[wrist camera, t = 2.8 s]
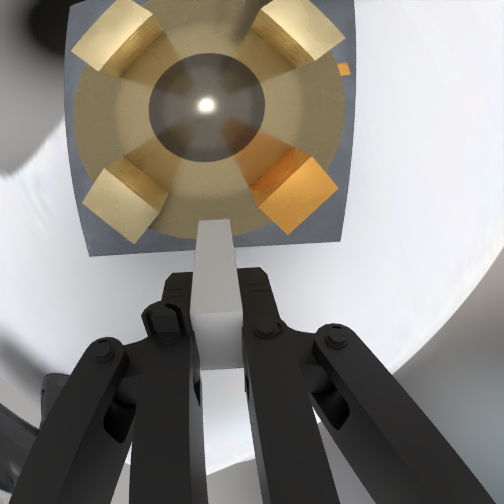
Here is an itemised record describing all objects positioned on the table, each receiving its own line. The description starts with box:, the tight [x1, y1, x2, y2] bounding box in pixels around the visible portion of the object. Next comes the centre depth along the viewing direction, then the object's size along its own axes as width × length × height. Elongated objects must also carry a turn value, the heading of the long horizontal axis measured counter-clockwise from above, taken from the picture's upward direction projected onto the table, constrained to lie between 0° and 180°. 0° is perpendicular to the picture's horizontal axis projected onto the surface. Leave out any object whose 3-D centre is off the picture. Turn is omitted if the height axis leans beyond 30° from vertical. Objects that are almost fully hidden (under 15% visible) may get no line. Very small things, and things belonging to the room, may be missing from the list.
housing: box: [64, 0, 356, 257], centre depth 18 cm, size 22×22×3 cm
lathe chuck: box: [71, 0, 346, 244], centre depth 14 cm, size 18×18×6 cm
